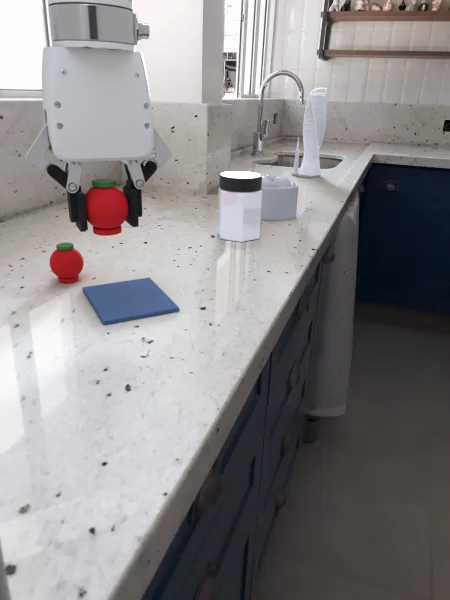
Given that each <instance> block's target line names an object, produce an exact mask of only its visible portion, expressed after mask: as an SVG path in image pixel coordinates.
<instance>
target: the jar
mask: <svg viewBox="0 0 450 600" xmlns="http://www.w3.org/2000/svg"><path fill="white" fill-rule="evenodd" d="M262 176H263V175H262V174H260V173H257V172H251V171H240V170H239V171H235V170H234V171H224V172H221V173H219V177H218V178H219V180H218V185H219V186H218V208H217V209H218V213H217V233H218V234H217V235H218V236H219V239H220V240H224V241H230V242H237V243H244V242H249V241H254V240H259V239H260V237H261V221H262V220H261V206H262V191H261V187H262Z"/></svg>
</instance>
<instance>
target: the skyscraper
mask: <svg viewBox="0 0 450 600" xmlns="http://www.w3.org/2000/svg"><path fill="white" fill-rule="evenodd" d="M317 90H325V91H324V92H317ZM327 92H328V87H324V86H319V87H316V88H313V89H312V90H311V91H310V92H309V94H308V96H307V100H306V104H305V108H304V115H303V121H302V142H303V151H304V153H303V156H302V160H301V164H300V163H299V160H300V159H299V158H300V149H299V147H300V136H297V142H296V149H295V150H294V160H293V161H294V162H293V172H292V173H291V176H294V177H300V178H304V179H311V178H319V177H321V162H320V161H321V160H320V149H321V147H322V144H323V140H324V137H325V133H326V127H327V118H328V116H327V115H328V114H327V113H328V104H327V102H328V101H327ZM299 166H300V167H299Z"/></svg>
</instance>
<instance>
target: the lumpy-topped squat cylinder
mask: <svg viewBox="0 0 450 600" xmlns="http://www.w3.org/2000/svg"><path fill="white" fill-rule="evenodd" d="M261 191H262V206H261V221H288V220H293V219H295V218H296V217H297V211H298V210H297V209H298V196H299V185H298V184H296V183H295V182H292V181H290V179H289V178H287V177H285V176H276V175H275V174H266V175H262V187H261Z"/></svg>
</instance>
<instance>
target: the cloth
mask: <svg viewBox="0 0 450 600" xmlns="http://www.w3.org/2000/svg"><path fill="white" fill-rule="evenodd" d="M82 292H83V293H84V295H85V297H86V298H87V300H88V301H89V304H90V305H91V306H92V308H93V310H94V311H95V314H96V315H97V316H98V318H99V319H100V322H101V323H102V324H103V325H104V326H107V325H111V324H116V323H122V322H126V321H132V320H133V321H134V320H138V319H139V320H140V319H144V318H149V317H154V316H155V317H156V316H160V315H161V316H162V315H165V314H172V313H177V312H180V307H179V306H178V305H177V304H176V303H175V302H174V301H173V300H172V299H171V298H170V296H168V294H166V293H165V291H164V290H162V289H161V287H159V285H158V284H156V282H155V281H154V280H153V279H152V278H151V277H142V278H137V279H130V280H123V281H116V282H109V283H102V284H95V285H89V286H83V287H82Z"/></svg>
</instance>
